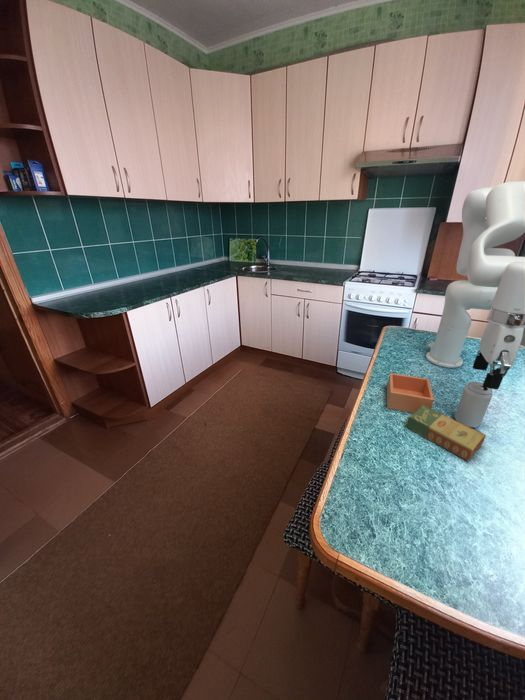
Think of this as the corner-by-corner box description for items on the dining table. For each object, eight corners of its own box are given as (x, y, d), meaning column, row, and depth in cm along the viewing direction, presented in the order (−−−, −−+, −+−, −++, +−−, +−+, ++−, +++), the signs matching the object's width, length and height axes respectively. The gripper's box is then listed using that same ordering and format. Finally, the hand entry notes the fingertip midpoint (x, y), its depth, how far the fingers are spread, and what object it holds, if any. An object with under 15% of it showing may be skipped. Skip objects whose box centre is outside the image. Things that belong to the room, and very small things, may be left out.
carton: (468, 462, 70) (473, 450, 69) (405, 427, 82) (408, 415, 80) (481, 446, 75) (486, 434, 73) (419, 414, 86) (423, 403, 84)
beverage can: (484, 430, 80) (499, 395, 74) (458, 427, 81) (471, 392, 76) (473, 415, 86) (487, 381, 80) (450, 413, 87) (461, 379, 81)
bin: (386, 387, 99) (389, 372, 96) (424, 394, 95) (428, 378, 93) (387, 408, 89) (390, 392, 87) (429, 416, 86) (434, 399, 83)
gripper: (545, 332, 60) (514, 399, 68) (513, 307, 75) (490, 365, 82) (501, 327, 62) (476, 393, 70) (479, 304, 77) (460, 360, 85)
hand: (484, 378), depth 76 cm, fingers open, 9 cm apart
